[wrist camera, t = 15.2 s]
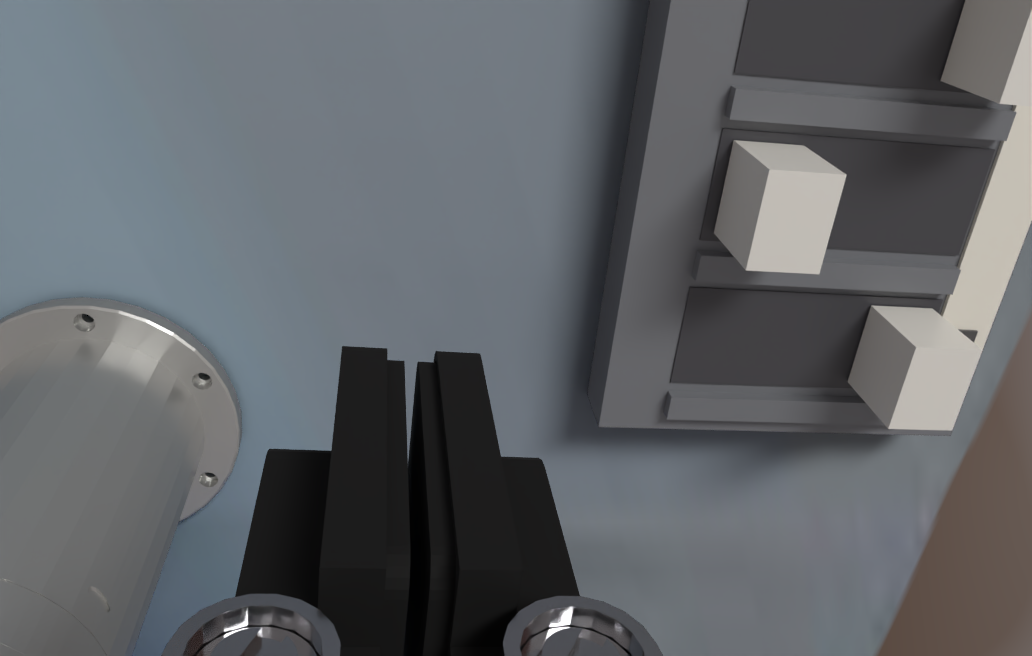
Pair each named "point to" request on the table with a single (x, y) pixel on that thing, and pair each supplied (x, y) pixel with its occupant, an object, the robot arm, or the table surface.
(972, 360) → the tab
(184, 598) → the table surface
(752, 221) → the tab middle
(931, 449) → the table surface
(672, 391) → the switch bank
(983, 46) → the tab
